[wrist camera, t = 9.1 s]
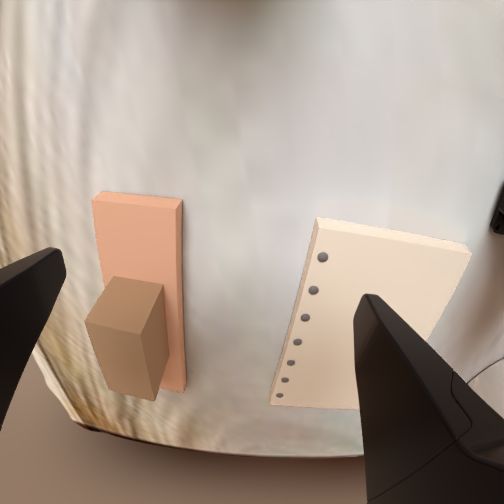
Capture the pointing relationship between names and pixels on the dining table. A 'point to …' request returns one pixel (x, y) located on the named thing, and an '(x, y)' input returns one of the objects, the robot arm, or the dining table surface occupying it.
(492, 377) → the utensil holder
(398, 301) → the board
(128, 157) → the dining table surface
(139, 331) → the stub
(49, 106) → the dining table surface
